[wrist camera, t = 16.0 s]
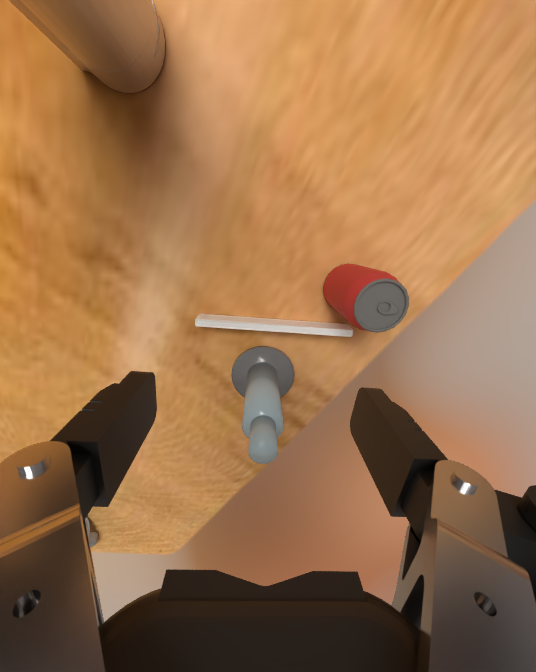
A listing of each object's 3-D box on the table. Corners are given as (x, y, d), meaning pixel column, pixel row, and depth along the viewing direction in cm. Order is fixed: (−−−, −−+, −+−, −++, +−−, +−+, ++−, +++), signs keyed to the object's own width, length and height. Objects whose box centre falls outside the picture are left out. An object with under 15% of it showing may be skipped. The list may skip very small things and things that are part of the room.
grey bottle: (246, 388, 42) (238, 469, 27) (247, 361, 40) (240, 432, 25) (275, 389, 42) (284, 471, 27) (278, 363, 41) (289, 434, 26)
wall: (200, 319, 38) (195, 326, 36) (200, 313, 38) (195, 319, 35) (345, 330, 40) (352, 336, 37) (346, 323, 39) (353, 330, 36)
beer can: (356, 314, 39) (395, 344, 28) (315, 301, 38) (339, 327, 27) (375, 271, 37) (426, 285, 25) (332, 256, 36) (366, 264, 25)
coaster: (230, 399, 43) (230, 400, 43) (233, 344, 40) (232, 345, 39) (290, 402, 44) (290, 404, 43) (297, 348, 40) (297, 349, 40)
